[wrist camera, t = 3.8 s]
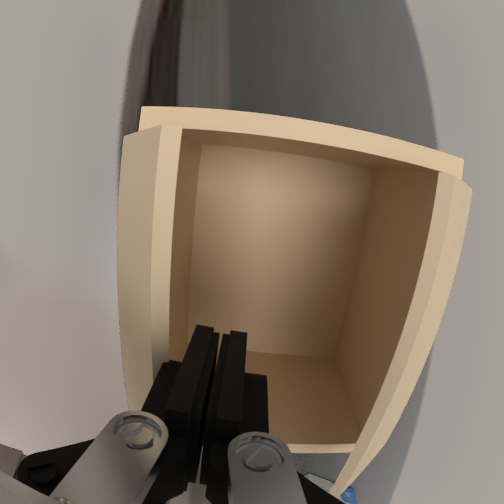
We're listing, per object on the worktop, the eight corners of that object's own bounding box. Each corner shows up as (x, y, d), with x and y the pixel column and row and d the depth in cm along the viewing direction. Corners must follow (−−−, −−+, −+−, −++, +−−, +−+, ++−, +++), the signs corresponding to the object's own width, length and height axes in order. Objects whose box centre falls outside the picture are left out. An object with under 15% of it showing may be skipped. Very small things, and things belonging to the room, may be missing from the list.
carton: (338, 360, 24) (371, 450, 15) (178, 344, 24) (142, 433, 15) (381, 159, 20) (463, 159, 11) (193, 132, 20) (141, 106, 10)
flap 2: (462, 187, 11) (472, 189, 10) (379, 438, 14) (385, 442, 14) (438, 171, 7) (455, 175, 7) (328, 492, 11) (337, 498, 11)
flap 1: (139, 420, 14) (130, 421, 14) (136, 136, 11) (123, 136, 10) (176, 493, 10) (165, 496, 10) (182, 126, 7) (161, 124, 6)
